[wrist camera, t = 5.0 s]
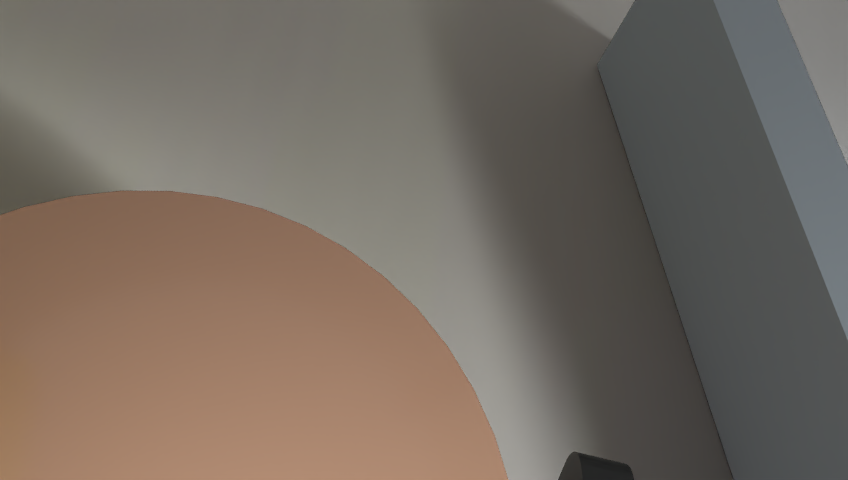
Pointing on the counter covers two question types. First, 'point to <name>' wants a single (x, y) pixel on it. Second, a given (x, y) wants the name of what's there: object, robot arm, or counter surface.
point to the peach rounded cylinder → (217, 352)
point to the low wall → (743, 222)
